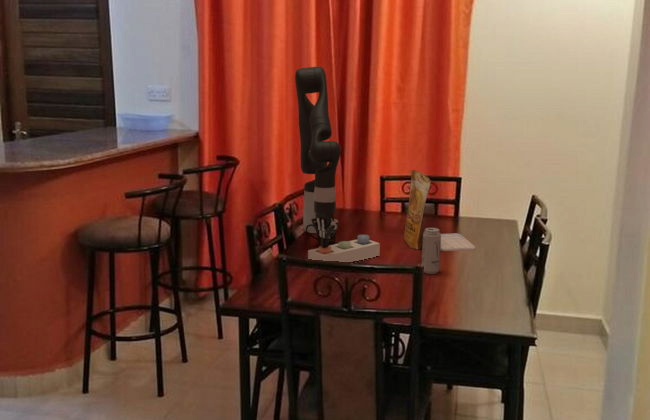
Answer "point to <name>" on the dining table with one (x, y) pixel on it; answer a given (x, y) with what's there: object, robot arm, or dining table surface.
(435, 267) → the energy drink can
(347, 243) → the button sage
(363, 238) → the button slate
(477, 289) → the dining table surface
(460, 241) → the calculator
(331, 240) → the coffee mug
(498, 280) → the dining table surface
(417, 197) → the pancake mix bag
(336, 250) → the console
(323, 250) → the button terracotta
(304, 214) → the robot arm
